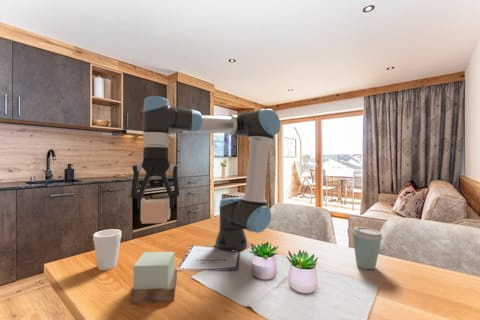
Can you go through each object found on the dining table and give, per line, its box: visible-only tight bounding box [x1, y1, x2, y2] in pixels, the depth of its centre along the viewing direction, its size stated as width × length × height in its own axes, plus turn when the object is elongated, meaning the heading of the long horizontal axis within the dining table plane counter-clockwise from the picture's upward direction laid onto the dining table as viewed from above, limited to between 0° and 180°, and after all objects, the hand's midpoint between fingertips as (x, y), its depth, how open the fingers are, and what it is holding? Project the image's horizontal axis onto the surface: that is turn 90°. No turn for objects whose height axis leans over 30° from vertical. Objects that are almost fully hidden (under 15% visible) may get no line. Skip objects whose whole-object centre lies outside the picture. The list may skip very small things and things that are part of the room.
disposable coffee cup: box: [352, 226, 383, 270], centre depth 94 cm, size 11×11×15 cm
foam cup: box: [92, 228, 122, 271], centre depth 92 cm, size 10×9×13 cm
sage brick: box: [132, 251, 176, 290], centre depth 76 cm, size 10×10×7 cm
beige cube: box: [141, 198, 168, 225], centre depth 76 cm, size 7×7×6 cm
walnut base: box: [130, 269, 178, 306], centre depth 76 cm, size 12×12×4 cm
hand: (155, 218), depth 76 cm, fingers closed on beige cube, 7 cm apart
